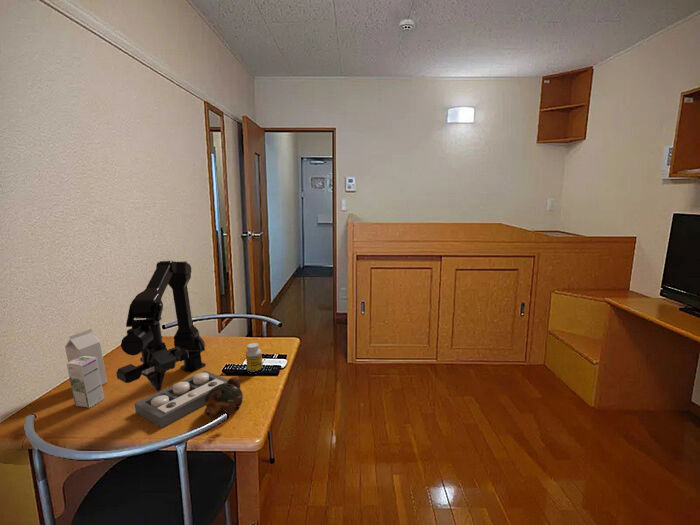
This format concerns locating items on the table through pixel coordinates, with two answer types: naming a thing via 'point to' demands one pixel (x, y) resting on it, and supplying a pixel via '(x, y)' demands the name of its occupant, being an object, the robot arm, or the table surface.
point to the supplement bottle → (253, 357)
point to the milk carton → (86, 350)
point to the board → (177, 401)
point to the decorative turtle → (224, 397)
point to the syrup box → (85, 381)
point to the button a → (159, 401)
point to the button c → (201, 379)
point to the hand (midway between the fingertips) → (158, 390)
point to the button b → (181, 388)
